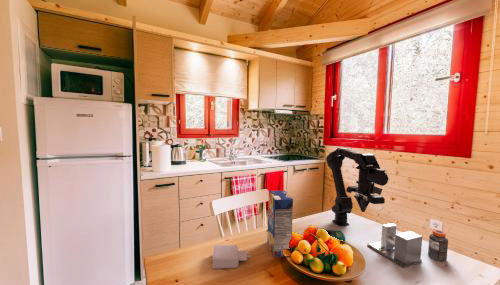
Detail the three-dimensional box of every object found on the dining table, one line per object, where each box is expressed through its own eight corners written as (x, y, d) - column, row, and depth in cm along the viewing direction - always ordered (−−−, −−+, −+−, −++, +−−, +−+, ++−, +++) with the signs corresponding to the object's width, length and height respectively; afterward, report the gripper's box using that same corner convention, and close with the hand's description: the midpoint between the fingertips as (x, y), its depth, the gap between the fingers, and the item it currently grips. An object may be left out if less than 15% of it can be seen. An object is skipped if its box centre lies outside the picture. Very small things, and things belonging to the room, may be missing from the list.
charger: (252, 268, 82) (212, 270, 80) (250, 254, 91) (214, 255, 89) (253, 256, 81) (212, 258, 80) (250, 243, 90) (214, 244, 89)
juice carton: (267, 241, 100) (268, 190, 98) (283, 240, 101) (284, 190, 99) (273, 257, 88) (275, 199, 86) (291, 256, 89) (293, 199, 87)
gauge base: (367, 245, 98) (368, 222, 97) (384, 241, 102) (386, 219, 101) (403, 267, 83) (405, 240, 82) (421, 261, 87) (424, 235, 86)
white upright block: (376, 248, 94) (378, 225, 93) (390, 244, 97) (392, 223, 96) (387, 254, 89) (389, 231, 88) (401, 250, 92) (403, 228, 91)
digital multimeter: (311, 232, 111) (311, 226, 111) (342, 236, 108) (342, 230, 107) (312, 239, 104) (312, 233, 103) (345, 243, 100) (346, 237, 100)
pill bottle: (443, 255, 92) (445, 229, 91) (449, 263, 87) (451, 236, 86) (425, 251, 94) (428, 226, 94) (430, 259, 89) (432, 232, 88)
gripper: (396, 184, 96) (393, 218, 97) (365, 174, 114) (363, 203, 115) (374, 185, 93) (372, 220, 95) (346, 175, 112) (344, 205, 113)
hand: (363, 211), depth 104 cm, fingers closed
